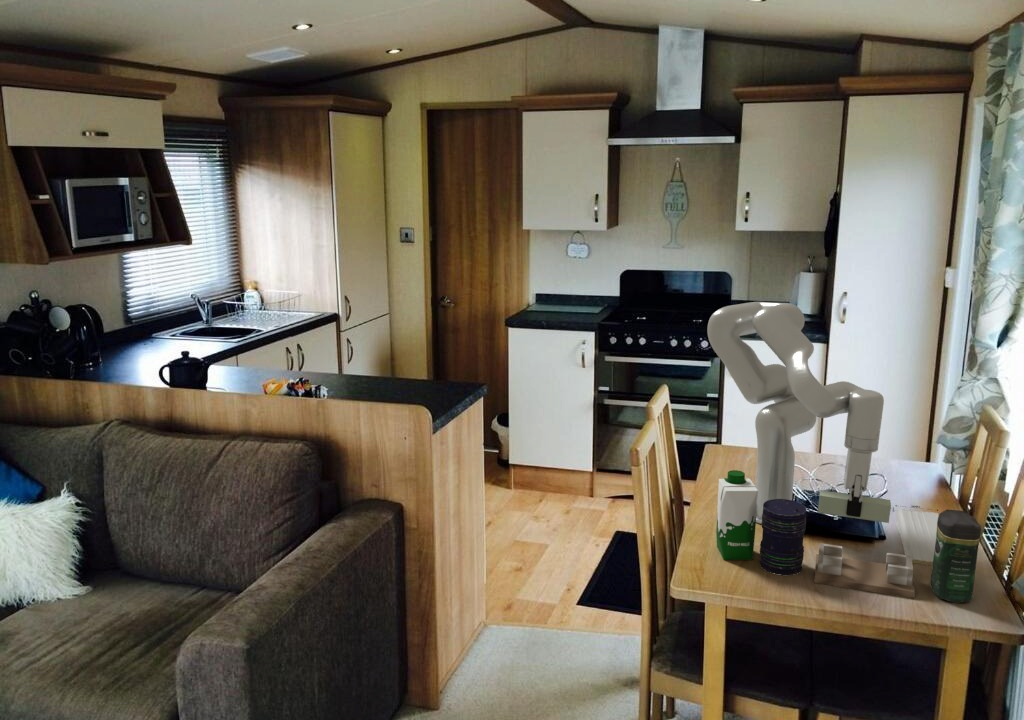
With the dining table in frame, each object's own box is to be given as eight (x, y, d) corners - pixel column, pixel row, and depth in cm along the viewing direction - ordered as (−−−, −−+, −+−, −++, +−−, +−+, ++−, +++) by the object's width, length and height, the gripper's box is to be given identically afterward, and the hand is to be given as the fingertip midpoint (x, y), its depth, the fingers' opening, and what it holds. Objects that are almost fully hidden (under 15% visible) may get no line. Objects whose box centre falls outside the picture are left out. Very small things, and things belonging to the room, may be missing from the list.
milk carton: (747, 545, 213) (752, 469, 208) (757, 561, 204) (762, 483, 199) (712, 545, 213) (715, 469, 208) (720, 562, 204) (724, 483, 199)
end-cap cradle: (814, 582, 194) (816, 560, 193) (815, 559, 205) (817, 538, 203) (914, 598, 187) (916, 575, 185) (910, 573, 198) (912, 551, 196)
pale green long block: (818, 512, 210) (819, 495, 209) (818, 506, 213) (820, 490, 212) (888, 523, 204) (890, 505, 203) (888, 517, 207) (890, 500, 206)
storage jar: (751, 567, 201) (755, 508, 198) (769, 552, 209) (773, 495, 205) (792, 580, 195) (797, 519, 192) (809, 564, 202) (813, 505, 199)
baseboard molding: (899, 563, 204) (955, 570, 200) (900, 552, 203) (956, 559, 200) (888, 512, 233) (937, 518, 229) (889, 502, 232) (938, 508, 228)
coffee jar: (976, 606, 183) (986, 526, 179) (936, 602, 185) (945, 522, 181) (964, 584, 192) (974, 508, 188) (926, 581, 194) (935, 504, 190)
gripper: (844, 428, 212) (836, 496, 217) (844, 451, 198) (836, 523, 202) (877, 432, 210) (868, 501, 215) (879, 455, 195) (870, 529, 200)
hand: (853, 511), depth 208 cm, fingers closed on pale green long block, 3 cm apart
